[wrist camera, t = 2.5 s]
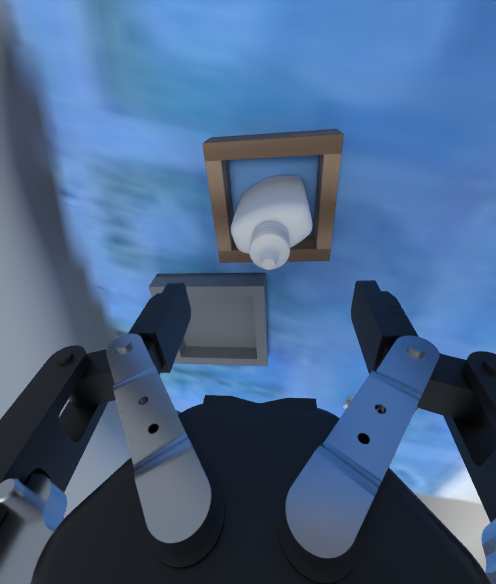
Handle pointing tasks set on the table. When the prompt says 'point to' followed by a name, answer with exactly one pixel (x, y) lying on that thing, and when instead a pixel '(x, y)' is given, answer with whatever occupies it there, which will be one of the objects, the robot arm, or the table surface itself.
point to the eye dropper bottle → (272, 220)
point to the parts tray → (222, 318)
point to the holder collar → (269, 147)
